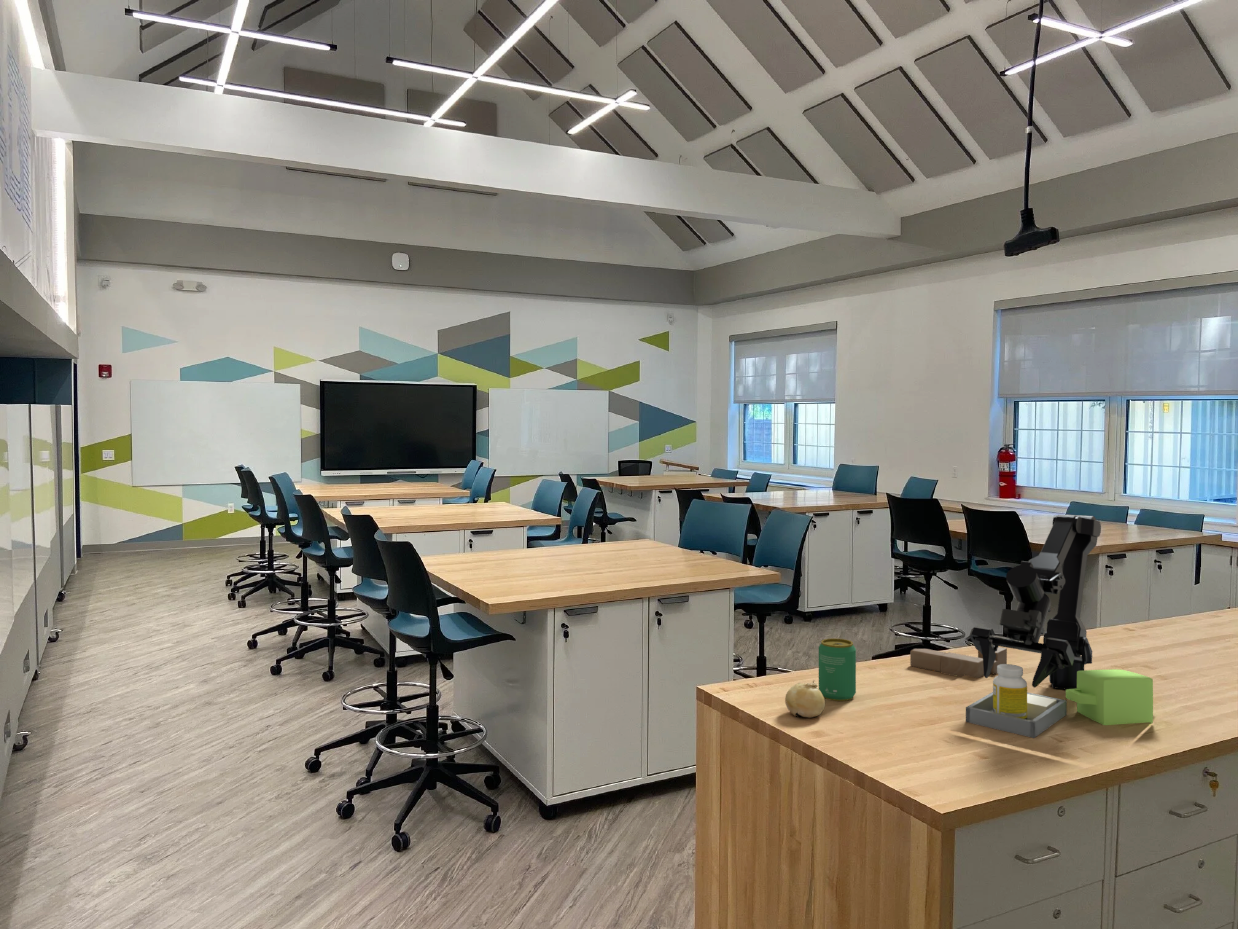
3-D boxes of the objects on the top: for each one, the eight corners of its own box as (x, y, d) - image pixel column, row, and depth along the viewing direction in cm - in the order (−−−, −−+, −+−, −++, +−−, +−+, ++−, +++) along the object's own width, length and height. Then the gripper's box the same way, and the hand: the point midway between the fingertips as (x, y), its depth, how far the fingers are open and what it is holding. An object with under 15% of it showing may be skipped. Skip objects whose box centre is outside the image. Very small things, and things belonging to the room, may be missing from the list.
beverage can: (862, 695, 190) (862, 641, 189) (844, 704, 184) (844, 648, 183) (830, 688, 195) (829, 636, 195) (811, 696, 189) (811, 642, 189)
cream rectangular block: (1006, 703, 181) (1006, 689, 181) (1056, 714, 174) (1056, 699, 174) (994, 710, 177) (994, 696, 177) (1046, 721, 170) (1046, 706, 170)
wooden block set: (981, 659, 199) (909, 645, 212) (981, 683, 199) (909, 668, 212) (1011, 645, 210) (940, 633, 224) (1011, 668, 211) (940, 655, 224)
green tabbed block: (1137, 710, 179) (1136, 665, 180) (1173, 724, 170) (1173, 676, 170) (1057, 713, 177) (1057, 667, 177) (1090, 727, 167) (1090, 679, 167)
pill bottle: (1034, 724, 168) (1034, 669, 168) (1010, 729, 166) (1010, 672, 165) (1009, 715, 174) (1009, 661, 173) (985, 719, 172) (986, 664, 171)
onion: (802, 724, 172) (802, 689, 172) (777, 712, 179) (777, 679, 179) (832, 717, 176) (832, 683, 176) (807, 706, 183) (807, 673, 183)
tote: (1001, 703, 183) (1001, 687, 183) (1066, 717, 174) (1066, 700, 174) (965, 724, 170) (965, 707, 170) (1034, 741, 161) (1034, 722, 161)
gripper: (973, 587, 179) (950, 650, 171) (1069, 599, 165) (1049, 668, 158) (988, 618, 185) (966, 680, 177) (1082, 632, 171) (1063, 700, 164)
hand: (1008, 681), depth 169 cm, fingers open, 9 cm apart
